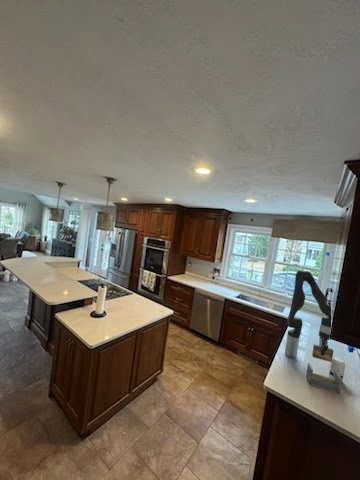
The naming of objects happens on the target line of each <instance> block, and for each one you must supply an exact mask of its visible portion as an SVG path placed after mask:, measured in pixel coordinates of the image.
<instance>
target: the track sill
mask: <svg viewBox="0 0 360 480" xmlns="http://www.w3.org/2000/svg"><path fill="white" fill-rule="evenodd" d="M305 376H306V377H305V378H306V379H307V383H308V384H309V385H312V386H315V387H319V388H322V389H324V390H328V391H330V392H332V393H336V394H340V393H341V386H342V382H341V380H342V379H341V377H340V376H339V374H338V372H337V371H335V373H334V379H333V378H330V377H329V376H326V375H323V374H320V373H316V372H314V370H313V367H312V364H311V363H310V362H307V369H306V375H305Z"/></svg>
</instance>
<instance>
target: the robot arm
mask: <svg viewBox="0 0 360 480" xmlns="http://www.w3.org/2000/svg"><path fill="white" fill-rule="evenodd" d="M294 278H295V281H294V289H293V294H292V298H291V299H292V300H291V304H290V310H289V313H288V316H287V321H286V322H287V327H289V328H292V329H289V330H288V331H287V336H286V342H285V349H284V354H285V355H286V356H287V357H289V358H291V359H292V358H293V359H297V357H298V350H299V344H300V343H299V342H300V337H301V335H302V330H303V329H302V328H303V320H302V318H300V317H296V314H297V313H298V312H299V311H300V310H301V309H302V308H303V307H304V305H305V301H306V294H305V291H304V288H303V287H304V282H306V283H307V284H308V285H309V287H310V290H311V295H312V297H313V298H314V300H316V303H317V305H318V307H319V310H320V311H321V313H323V314H324V316H322V317H321V321H320V325H319V331H318V337H319V341H318V342H319V344H318V345H320V346H322V348H321V355H324V354H325V351H327V349H328V348H329V344H328V343H329V342H328V341H330V340H331V339H329V337H330V330H331V305H332V304H327V302H328V298H327V297H326V296H325V294H324V293H323V291H322V290H321V289H320V287H319V285H318V283H317V281H316V280H315V276H314V275H313V274H312V273H311V272H310V271H309V270H302V269H301V270H297V271H296V274H295V277H294Z"/></svg>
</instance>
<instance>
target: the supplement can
mask: <svg viewBox="0 0 360 480" xmlns="http://www.w3.org/2000/svg"><path fill="white" fill-rule="evenodd" d="M345 368H346V363H345V360H343V359H342V358H339V357H336V356H333V357H332V362H330V366H329V372H328V377H330V378H333V379H334V373H335V371H337V372H338V374H339V376H340V377H341V379H342V380H341V383H343V381H344V375H345Z"/></svg>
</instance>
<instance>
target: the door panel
mask: <svg viewBox="0 0 360 480" xmlns="http://www.w3.org/2000/svg"><path fill="white" fill-rule="evenodd" d="M312 347H313V348H312V354H311V357H312V358H315V359H317V360H321V361H322V360H323V361H325V362H329V363H331V362H332V358H333V357H334V356H333V355H334V349H333V348H331V347H328V349H327V351H325V354H324V355H321V348H322V346H320V345H319V344H315V343H313V346H312Z"/></svg>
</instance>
